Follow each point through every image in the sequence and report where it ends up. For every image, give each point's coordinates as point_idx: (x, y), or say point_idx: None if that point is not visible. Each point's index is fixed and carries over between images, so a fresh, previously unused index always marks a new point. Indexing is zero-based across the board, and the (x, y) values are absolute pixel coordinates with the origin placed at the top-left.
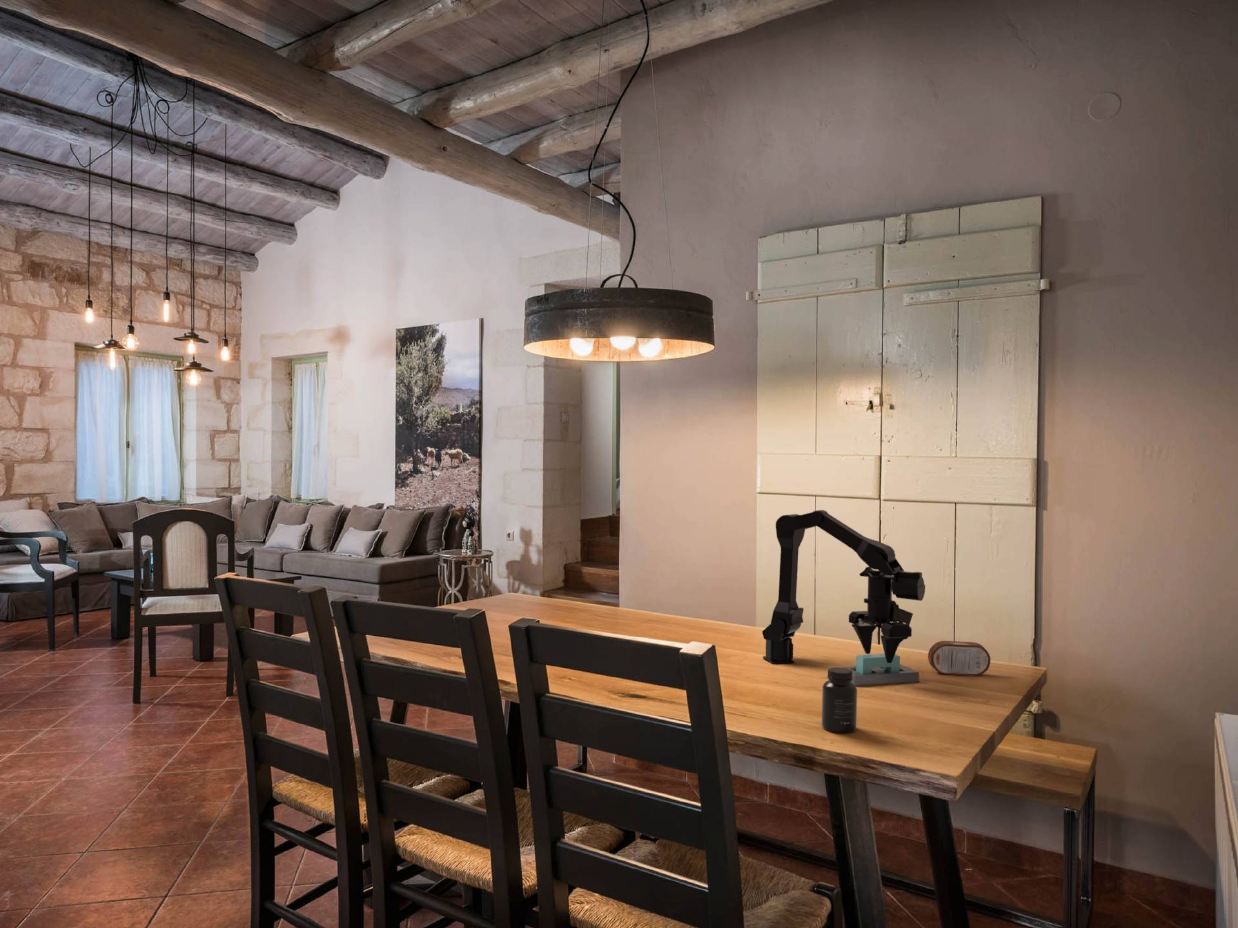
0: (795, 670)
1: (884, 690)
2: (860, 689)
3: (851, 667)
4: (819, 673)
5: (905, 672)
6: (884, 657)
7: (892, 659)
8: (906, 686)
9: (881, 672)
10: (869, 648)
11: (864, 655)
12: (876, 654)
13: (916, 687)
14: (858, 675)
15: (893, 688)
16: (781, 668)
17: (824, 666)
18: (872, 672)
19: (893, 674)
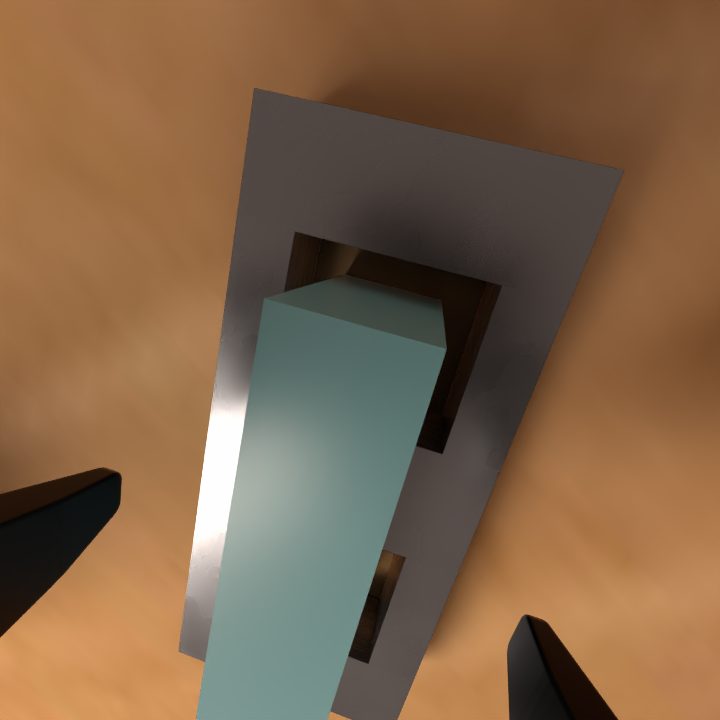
0: (47, 642)
1: (560, 603)
2: (458, 683)
3: (207, 581)
4: (121, 600)
5: (541, 339)
6: (375, 563)
7: (571, 664)
8: (596, 402)
9: (416, 525)
10: (68, 517)
11: (228, 669)
12: (237, 538)
13: (671, 355)
14: (390, 707)
15: (567, 523)
16: (6, 660)
17: (5, 470)
18: None
19: (497, 467)
